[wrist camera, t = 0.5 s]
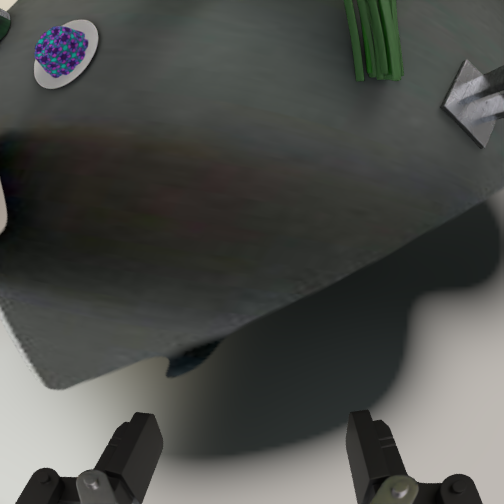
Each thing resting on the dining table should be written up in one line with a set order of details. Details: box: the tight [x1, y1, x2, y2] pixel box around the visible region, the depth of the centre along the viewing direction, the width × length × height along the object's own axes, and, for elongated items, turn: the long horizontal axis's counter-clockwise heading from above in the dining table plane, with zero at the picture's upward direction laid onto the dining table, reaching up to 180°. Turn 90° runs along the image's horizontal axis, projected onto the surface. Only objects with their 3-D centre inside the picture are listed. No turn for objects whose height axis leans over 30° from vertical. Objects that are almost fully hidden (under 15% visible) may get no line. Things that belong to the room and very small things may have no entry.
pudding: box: [34, 20, 98, 89], centre depth 31 cm, size 12×12×5 cm
